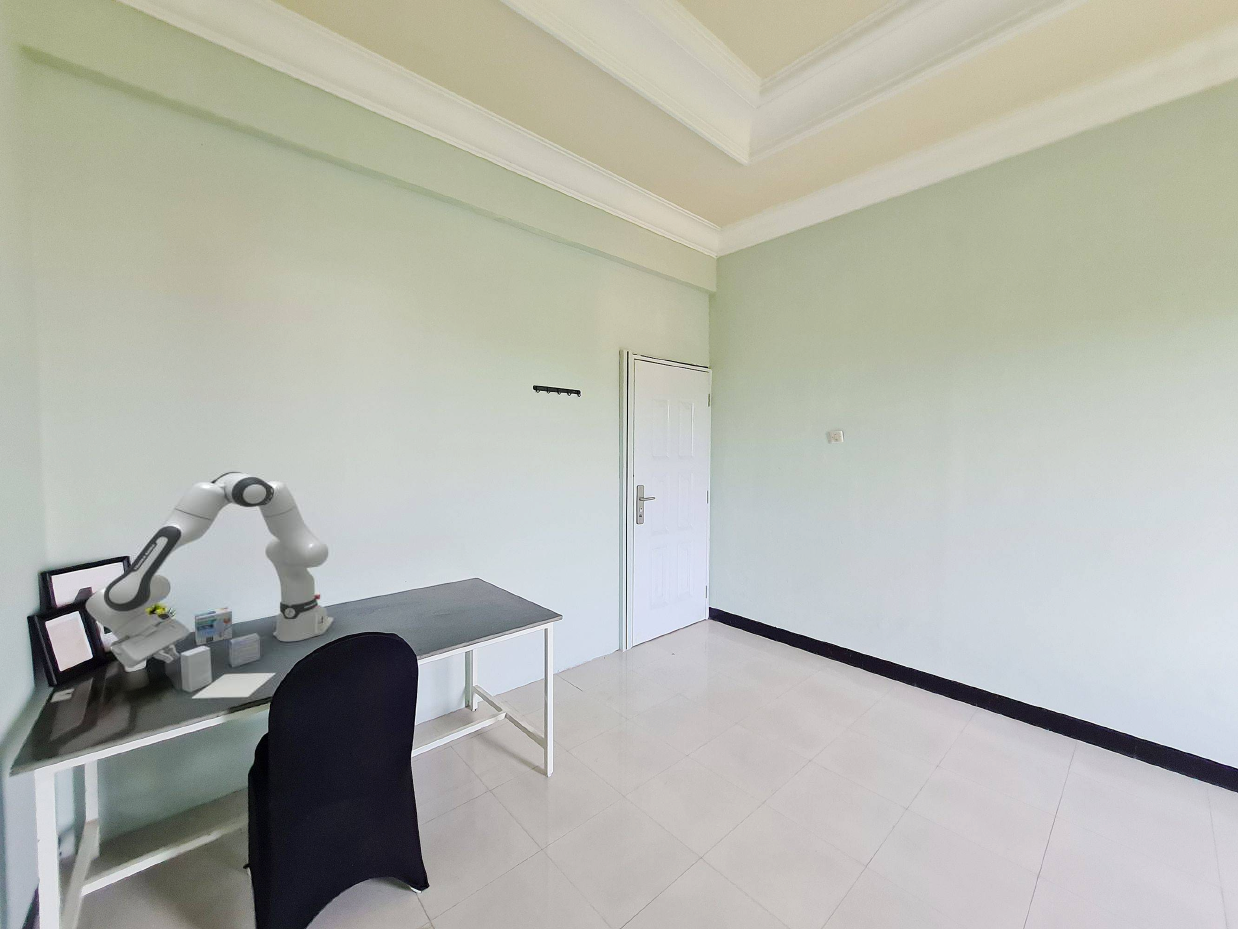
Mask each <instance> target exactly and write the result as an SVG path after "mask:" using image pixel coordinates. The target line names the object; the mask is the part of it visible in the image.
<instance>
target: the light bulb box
mask: <svg viewBox="0 0 1238 929" xmlns="http://www.w3.org/2000/svg"><path fill="white" fill-rule="evenodd" d="M194 637H195V642H196V646H203V645H206V644H210V643H214V642H220V641H224V640H227V639H233V610H232V609H231V608H230V606H225V607H221V608H216V609H210V610H205V611H201V612H195V613H194ZM223 639H224V640H223ZM219 640H220V641H219Z"/></svg>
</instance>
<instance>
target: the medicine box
mask: <svg viewBox="0 0 1238 929" xmlns="http://www.w3.org/2000/svg"><path fill="white" fill-rule="evenodd" d="M260 647H261V637H260V635H258V634H257V633H255V632H253V633H251V634H248V635H243V636H240V637H234V638H231V639H229V640H228V650H229V653H228V654H229V656H228V657H229V664H230V666H231V667H232V668H236V667H239V666H242V665H245V664H249V663H252V662H256V661H259V660H261V648H260Z"/></svg>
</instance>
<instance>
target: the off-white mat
mask: <svg viewBox="0 0 1238 929" xmlns="http://www.w3.org/2000/svg"><path fill="white" fill-rule="evenodd" d="M276 675H277V673H276V672H268V673H267V672H265V673H264V672H263V673H261V672H256V673H254V672H253V673H224V674H223V675H222V676H220V677H219V678H217V679H216V680H214V682H213V681H212V683H211V684H209V685H207V686H205V688H203V689H202V690H201V691H199V692H197V693H196V694H195V695H193V696H192V697H191V700H197V699H198V700H199V699H200V700H202V699H203V700H205V699H206V700H207V699H208V700H209V699H236V698H237V699H241V698H249V697H250V696H251V695H253V694H254V693H255V692H256V691H258V689H260V688H261V687H262V686H263V685H265V684H266V683H267V682H268V681H270V680H271V679H272V678H274V676H276Z"/></svg>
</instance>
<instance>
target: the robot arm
mask: <svg viewBox="0 0 1238 929" xmlns="http://www.w3.org/2000/svg"><path fill="white" fill-rule="evenodd" d="M229 504H233V505H238V506H240V507H244V508H255V507H258V508H259V511H260V513H261V515H262V518H263V520H264V522H265V525H266V527H267V529H268V531H269V533H270V534H271V536H273V537H275V538H274V539H272V540H270V541H269V542H268V544H267V545H266V548H265V556H266V557H267V559H268V560H269V561H270V562H271V563H272V565H273V567H274V569H275V571H276V574H277V576H278V579H279V580H278V581H279V584H280V600H281V601H279V611H280V612H279V613H278V614H277V619H276V630H275V631H274V632H273V636H274V637H275V638H276V639H277V640H278V641H281V642H289V643H290V642H297V641H299V642H300V641H304V640H306V639H310V638H313V637H316V636H321V635H324V634H325V633H326V631H327V630H328V629H329V627H330V626H331V625H332V623H334V621H335V619H334V617H331V616H328V610H327V608H326V607H324V606H322V605H320V604H319V602H318V600H321V594H316V593H315V591H316V590H315V579H314V578H315V577H314V575H312V574H311V572H310V571H309V570H308V569H309V568H317V567H320V566H321V565H323V564H324V563H325V562H326V561H327V559H328V557H329V547H328V546H327V545H326V544H325V543H324V542H322V541H321V540H320V539H318V538H317V537H316V535H314V533H313V531H311V530H310V528H309V527H308V526H307V524H306V523H305V521H304V520H303V517H302V515H301V513H300V512H301V511H300V510H299V507H298V505H297V503H296V500H295V498H294V497H293V494H292V492H291V491H290V490H289V488H288V487H287V485H286V484H285V483H284V482H282V481H279V480H271V481H267V482H266V481H265V480H263V479H261V478H259V477H257V476H254V475H251V474H249V473H243V472H239V471H229V472H224V473H223V474H221V475H220V476H219V477H217V478H216V479H213V480H212V481H211V482H207V481H202V482H197V483H194V484H193V485H192V486H191V487H190V488H188V490H187V491H186V492H185V494H183V495H182V497H181V498H180V499H179V501H177V503H176V505H175V506H174V508H173V510H172V511H170V512H171V513H170V514H169V516H168V517H167V518H166V520H165V521H164V523H163V524H162V525H161V527H159V529H158V530H157V532H156V533H155V534H154V535H153V536H152V537H151V538H150V539H149V541H148V542H147V543H146V545H145V546H144V548H143V549H142V550H141V551H140V553H139V554H138V555H137V556H136V558H135V559H134V560H133V562H132V563H131V564H130V566H128V568H127V569H126V570H125V571H124V572H123V573H122V574H121V575H119V576H118V577H116V578H115V579H114V580H113V581H111V582H110V583H109V584H108V585H107V586H104V587H102V588H100V589H99V590H97V591H95V592H94V593H93V594H91V595H90V596H89V598H88V599H87V600H86V603H85V608H86V610H87V612H88V613H89V614H90V616H91V617H92V618H94V620H96V622H97V623H99V624H100V625H102V627H104V628H107V629H109V630H110V631H111V633H112V635H113V636H114V637H115V638H117V639H118V640H115V641H113V642H111V643H110V647H109V650H110V651H111V652H112V653H113V655H114V657H116V659H117V660H118V661H119V662H120V663H121V664H122V665H123V666H124V667H125V668H129V669H133V668H134V667H136V666H138V665H140V664H142V663H144V662H145V661H147V660H149V659H151V658H153V657H154V658H155V659H157V660H160V661H164V662H166V663H167V664H170V663H172V662H175V660H177V659H178V658H180V657H181V656H180V653H178V652H177V650H176V646H175V645H177V644H179V643H180V642H182V641H183V640H185V639H186V638H187V637H188V636H189V635H190V634H191V633H190V632H191V631H190V629H189V628H188V627H187V626H186V625H185V624H183V623H182V622H181V621H179V620H178V619H176V618H172V617H173V615H172V614H171V613H170V612H163V613H151V614H150V613H148V612H147V609H149V608H151V607H153V606H155V605H156V604H158V603H160V602H162V601H163V600H164V599H166V598H167V597H168V596H169V594H170V591H171V582H170V581H169V580H168V579H167V578H166V577H165V576H163V575H159V574H157V573H158V572H159V570H160V569H161V567H162V566H163V565H164V563H165V562H166V560H167V559H168V558H169V557H170V556H171V554H172V553H173V552H175V551H176V550H178V549H179V548H181V547H182V546H185V545H186V544H190V543H192V542H194V541H196V540H197V541H198V540H199V539H201V538H202V537H203V536H204V535H205V534H206V532H208V531H209V529H210V528H211V526H212V524H213V523H214V522H215V520H216V519H217V517H218V515H219V513H220V512H221V511H222V509H223V508H225V507H226V506H228V505H229Z"/></svg>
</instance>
